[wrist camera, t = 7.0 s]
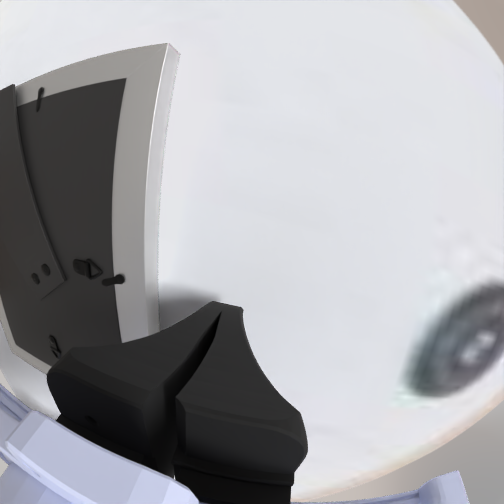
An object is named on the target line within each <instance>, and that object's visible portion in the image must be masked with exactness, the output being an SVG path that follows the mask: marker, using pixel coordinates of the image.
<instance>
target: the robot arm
mask: <svg viewBox="0 0 504 504" xmlns="http://www.w3.org/2000/svg"><path fill="white" fill-rule="evenodd" d="M47 383H48V386H49V389H50V392H51V394H52V396H53V398H54V400H55V403H56V405H57V407H58V409H59V411H60V413H61V415H60V416H59V417H58V418H57V420H56V421H55V420H53V419H52V418H50V417H48V416H46V415H44V414H42V413H41V412H39V411H34V410H31V409H30V408H29V407H27V406H26V405H25V404H23V403H22V402H21V401H20V400H19V399H17V398H16V397H15V396H14V395H12V394H11V393H10V392H9V391H8V390H7V389H5V388H4V387H3V386H2V385H1V384H0V457H1V458H2V459H3V460H4V461H5V462H6V463H7V464H8V465H9V466H8V468H7V469H6V470H5V472H4V473H3V474H2V476H1V477H0V504H470V503H469V500H468V497H467V494H466V491H465V488H464V485H463V482H462V479H461V476H460V473H459V471H457V470H456V471H453V472H450V473H447V474H444V475H440V476H437V477H435V478H433V479H431V480H429V481H427V482H426V483H424V484H423V485H422V486H421V487H420V488H419V489H417V490H413V491H409V492H404V493H400V494H395V495H389V496H383V497H378V498H370V499H362V500H353V501H341V502H290V498H291V486H293V484H294V472H295V471H296V470H297V468H298V467H299V466H300V464H301V463H302V462H303V460H304V459H305V457H306V455H307V452H308V443H307V436H306V431H305V427H304V423H303V420H302V416H301V414H300V412H299V411H298V410H296V409H295V408H294V407H293V406H292V405H291V404H290V403H289V402H287V401H286V400H285V399H284V398H283V397H282V396H281V395H280V394H279V393H278V391H277V390H276V389H275V388H274V387H273V385H272V384H271V383H270V381H269V380H268V379H267V377H266V376H265V374H264V373H263V371H262V370H261V368H260V366H259V365H258V363H257V361H256V359H255V357H254V355H253V352H252V350H251V347H250V345H249V342H248V339H247V336H246V332H245V328H244V323H243V309H242V308H241V307H238V306H233V305H228V304H224V303H219V302H215V301H212V302H210V303H208V304H207V305H205V306H204V307H202V308H201V309H199V310H198V311H196V312H195V313H193V314H192V315H190V316H189V317H187V318H185V319H184V320H182V321H180V322H178V323H177V324H175V325H173V326H171V327H169V328H167V329H165V330H162V331H160V332H157V333H155V334H152V335H149V336H146V337H143V338H139V339H136V340H132V341H128V342H124V343H118V344H113V345H105V346H94V347H72V348H71V349H70V350H69V351H68V352H67V353H66V354H65V355H64V356H63V357H61V358H60V359H59V360H58V361H57V362H56V363H55V364H54V365H53V366H52V367H51V368H50V369H49V371H48V373H47ZM174 475H175V480H174Z"/></svg>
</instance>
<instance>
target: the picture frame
mask: <svg viewBox="0 0 504 504" xmlns="http://www.w3.org/2000/svg"><path fill="white" fill-rule="evenodd" d="M179 58H180V53H179V52H178V51H177V50H176V49H175V48H174V47H173V46H172V45H171V44H170V43H164V44H157V45H150V46H143V47H137V48H132V49H127V50H122V51H117V52H113V53H109V54H105V55H101V56H97V57H93V58H90V59H86V60H83V61H80V62H76V63H73V64H70V65H67V66H64V67H61V68H59V69H56V70H53V71H51V72H48V73H46V74H43V75H41V76H38V77H36V78H34V79H31V80H29V81H27V82H25V83H23V84H20V85H18V86H16V87H15V84H12V85H10V86H8V87H6V88H4V89H2V90H0V320H1V324H2V327H3V330H4V332H5V335H6V338H7V341H8V343H9V346H10V348H11V351H12V352H13V353H14V354H15V355H17V356H18V357H20V358H21V359H23V360H24V361H26V362H27V363H29V364H30V365H32V366H33V367H35V368H36V369H38V370H40V371H41V372H43V373H45V374H46V375H47V373H48V371H49V369H50V368H51V367H52V366H53V365H54V364H55V363H56V362H57V361H58V360H59V359H60V358H61V357H63V356H64V355H65V354H66V353H67V352H68V351H69V350H70V349H71V348H72V347H94V346H105V345H113V344H118V343H124V342H128V341H132V340H136V339H139V338H143V337H146V336H149V335H152V334H155V333H157V332H160V324H159V300H158V238H159V213H160V196H161V182H162V171H163V161H164V151H165V143H166V134H167V127H168V120H169V113H170V107H171V100H172V94H173V89H174V83H175V78H176V73H177V68H178V63H179Z"/></svg>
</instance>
